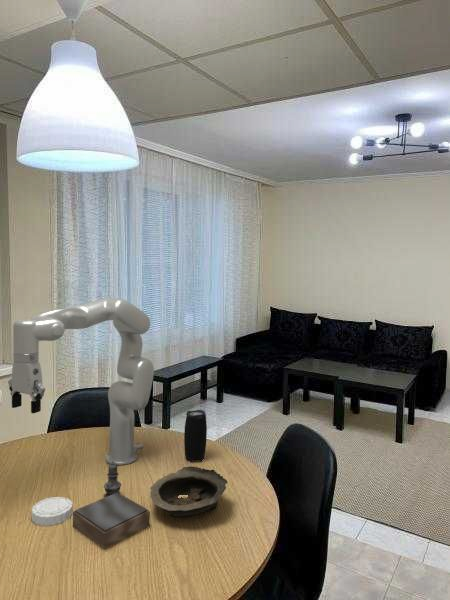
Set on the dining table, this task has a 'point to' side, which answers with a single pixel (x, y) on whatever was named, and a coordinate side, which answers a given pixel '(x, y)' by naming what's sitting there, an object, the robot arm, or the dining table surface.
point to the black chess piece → (112, 481)
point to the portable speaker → (195, 435)
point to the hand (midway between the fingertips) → (26, 409)
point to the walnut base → (111, 519)
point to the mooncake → (52, 511)
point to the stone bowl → (188, 491)
